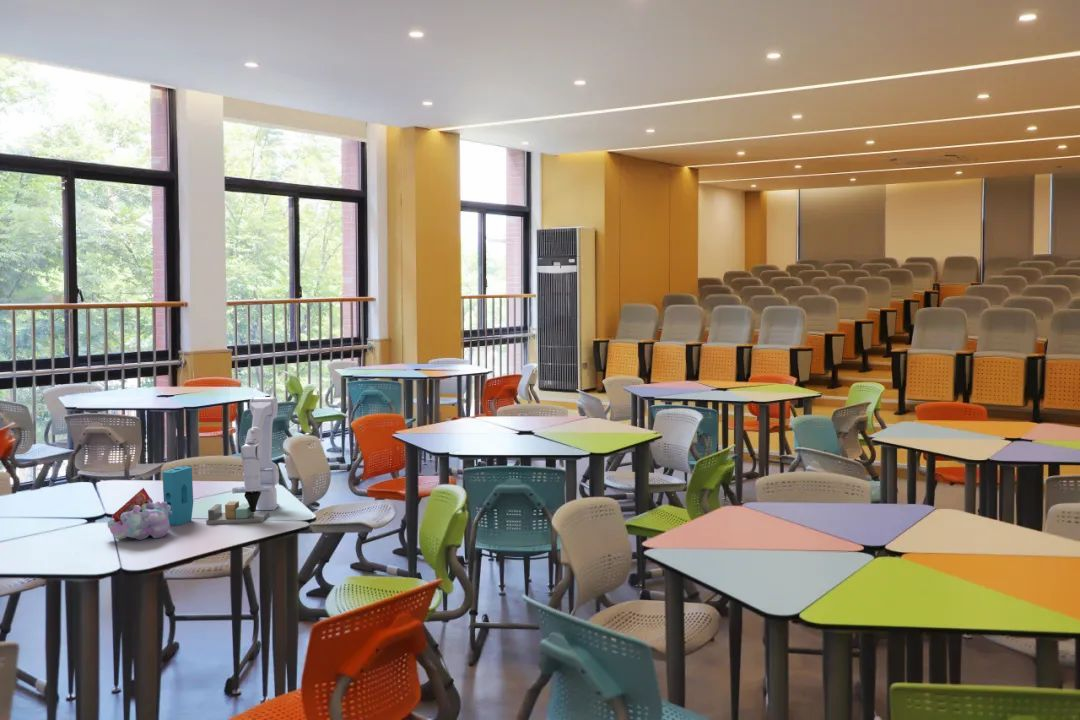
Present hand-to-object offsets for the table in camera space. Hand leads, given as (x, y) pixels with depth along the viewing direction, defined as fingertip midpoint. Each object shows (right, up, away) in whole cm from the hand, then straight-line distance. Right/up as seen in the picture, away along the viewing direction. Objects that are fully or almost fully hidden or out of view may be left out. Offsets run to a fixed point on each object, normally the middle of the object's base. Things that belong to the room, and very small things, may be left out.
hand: (253, 511), depth 347 cm
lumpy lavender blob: (-32, -5, -23) cm, 40 cm away
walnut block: (-8, -2, -1) cm, 8 cm away
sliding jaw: (-3, -1, 0) cm, 3 cm away
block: (-27, -4, -3) cm, 27 cm away
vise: (-6, -3, 0) cm, 6 cm away
